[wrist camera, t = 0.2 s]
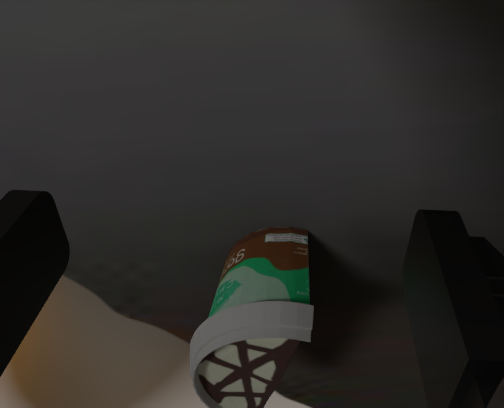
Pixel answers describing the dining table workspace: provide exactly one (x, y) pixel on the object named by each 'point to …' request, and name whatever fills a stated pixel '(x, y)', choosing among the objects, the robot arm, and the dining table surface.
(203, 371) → the food container
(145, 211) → the dining table surface
